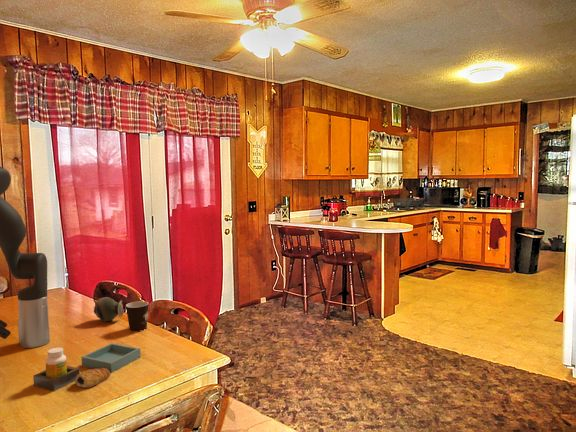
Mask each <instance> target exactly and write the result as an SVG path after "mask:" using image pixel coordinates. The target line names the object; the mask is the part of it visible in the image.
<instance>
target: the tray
mask: <svg viewBox="0 0 576 432" xmlns="http://www.w3.org/2000/svg"><path fill="white" fill-rule="evenodd" d="M141 357H142V356H141V348H139V347H133V346H129V345H124V344H123V345H122V344H119V343H114V342H110V343H109V344H107V345H105V346H102V347H101V348H98V349H96V350H93V351H91V352H89V353H86V354H85V355H83V356H81V357H80V358H81V366H82V367H84V368H89V369H101V368H105V369H108V370H109V371H110V374H112V373H115V372H116V371H118V370H119V369H122V368H123V367H125V366H127V365H129V364H130V363H133V362H135V361H137V360H138V359H140V358H141Z"/></svg>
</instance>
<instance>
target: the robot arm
mask: <svg viewBox="0 0 576 432" xmlns="http://www.w3.org/2000/svg"><path fill="white" fill-rule="evenodd" d="M11 181H12V176H11V173H10V172H9V171H8V170H7V169H6V168H4V167H2V166H0V250H1V251H2V253H3V256H4V259H5V261H6V263H7V267H8V269H9V271H10V273H11V275H12V277H13V278H14V279H16V280H33V284H31V285H29V286H26V287H24V288H22V289H19V290H18V291H17V306H18V318H17V330H18V331H17V332H18V344H19V345H20V347H21V348H23V349H24V348H25V349H29V348H30V349H33V348H38V347H43V346H45V345H46V344H48V343H50V340H51V339H50V337H51V335H50V318H49V301H48V300H49V299H48V259H47V256H46V255H45V253H42V252H29V253H28V252H25V253H22V252H21V251H20V250H19V248H20V247H21V245H22V244H23V242H24V240H25V238H26V235H27V227H26V224H25V222H24V220H23V219H22V216H21V215H20V212H18V210H17V209H15V208H14V207H13V205H11V204H10V202H8V201H7V200H6V199H5V198H4V197H3V196H1V195H3V194H4V193H5V192H6V191H8V189H9V188H10V186H11ZM7 326H8V323H6V321H4V320H2V319H0V338H2V339H4V340H6V339H7V338H8V337H9V336H10V335H11V333H12V332H11V331H10V330H9V329H7Z"/></svg>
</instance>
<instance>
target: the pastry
mask: <svg viewBox="0 0 576 432" xmlns="http://www.w3.org/2000/svg"><path fill="white" fill-rule="evenodd" d="M79 373H80V374H78V375H77V377H76V379H75V381H74V383H75V384H76V386H77V387H81V388H85V389H86V388H87V389H89V388H93V387H95V385H96V386H97V385H101V383H103V382H106V381H107V380H108V379H109V378H110V376H111V373H110V371H109V370H108V369H105V368H101V369H93V368H89V369H86V370H83V371H81V372H79Z"/></svg>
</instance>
